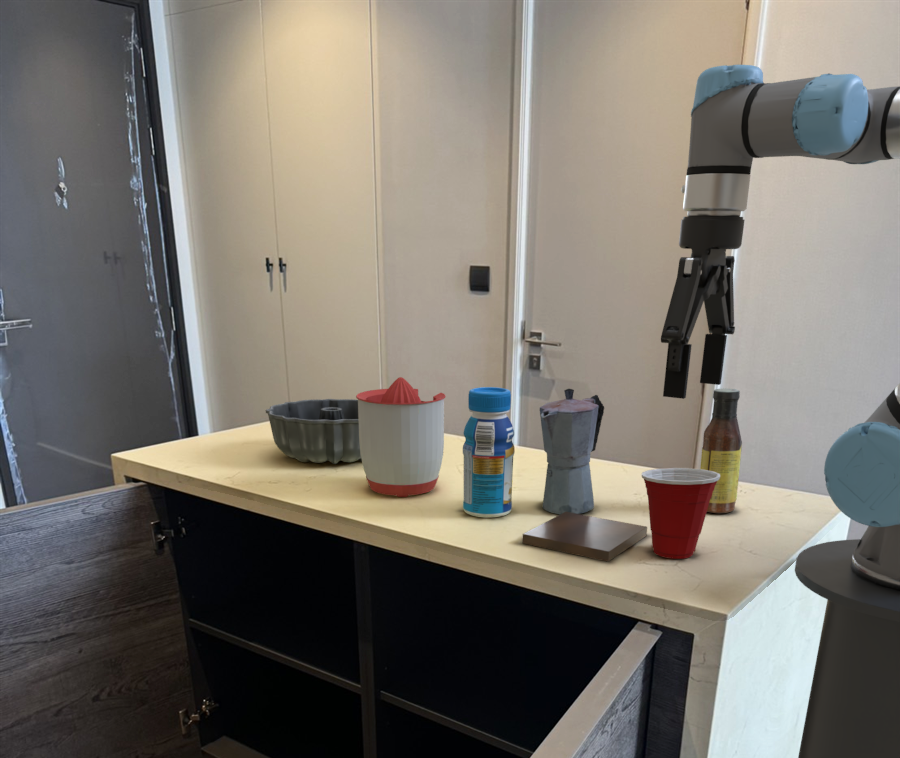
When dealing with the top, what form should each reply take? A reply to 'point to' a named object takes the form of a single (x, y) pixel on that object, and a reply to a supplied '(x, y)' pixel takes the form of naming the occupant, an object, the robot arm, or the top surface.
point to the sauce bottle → (723, 450)
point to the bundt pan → (317, 430)
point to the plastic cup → (678, 508)
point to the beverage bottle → (488, 453)
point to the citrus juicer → (401, 439)
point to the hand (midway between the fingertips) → (693, 390)
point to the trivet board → (585, 535)
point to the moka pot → (570, 452)
